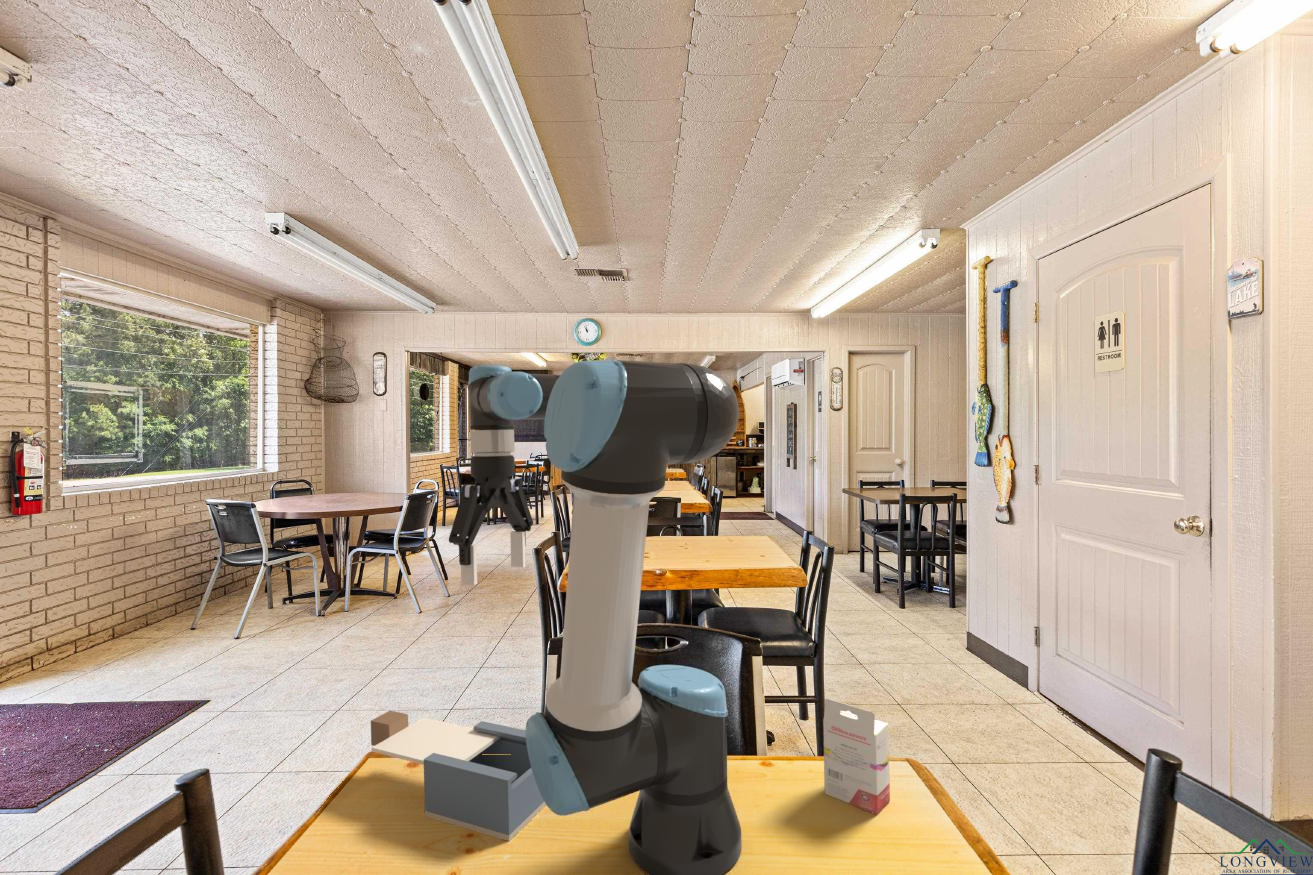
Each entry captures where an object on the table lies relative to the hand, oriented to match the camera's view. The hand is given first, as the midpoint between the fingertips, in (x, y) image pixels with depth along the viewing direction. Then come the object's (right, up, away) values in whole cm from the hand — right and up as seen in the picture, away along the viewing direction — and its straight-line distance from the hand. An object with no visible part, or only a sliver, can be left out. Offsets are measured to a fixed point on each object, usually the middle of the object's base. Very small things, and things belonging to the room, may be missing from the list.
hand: (495, 574), depth 113 cm
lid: (-8, -26, -11) cm, 29 cm away
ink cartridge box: (+59, -30, -16) cm, 68 cm away
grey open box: (+4, -31, -16) cm, 35 cm away
